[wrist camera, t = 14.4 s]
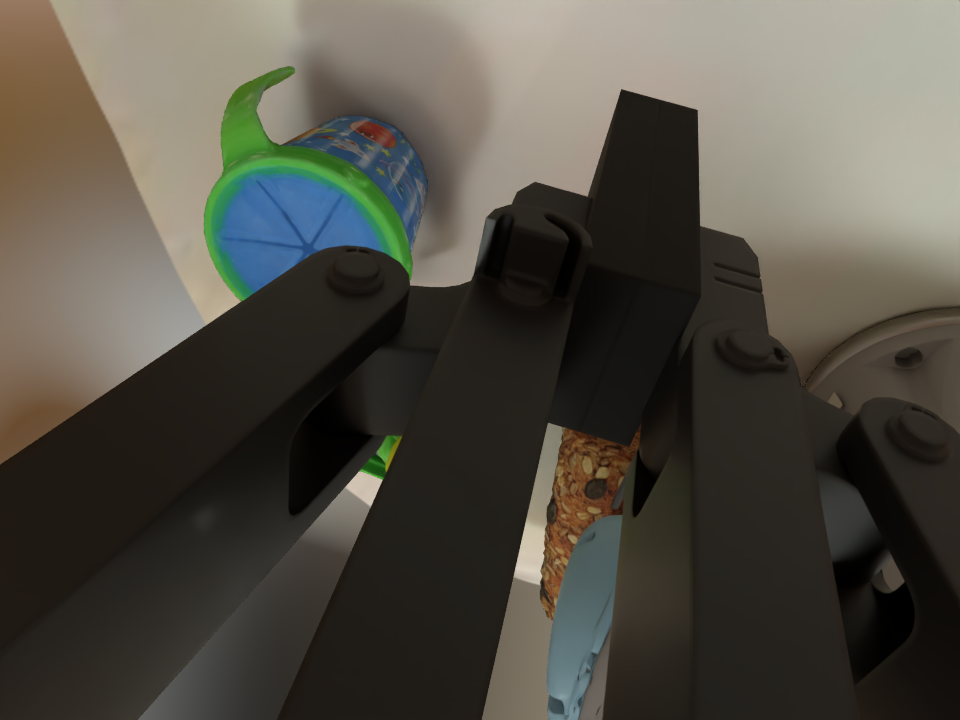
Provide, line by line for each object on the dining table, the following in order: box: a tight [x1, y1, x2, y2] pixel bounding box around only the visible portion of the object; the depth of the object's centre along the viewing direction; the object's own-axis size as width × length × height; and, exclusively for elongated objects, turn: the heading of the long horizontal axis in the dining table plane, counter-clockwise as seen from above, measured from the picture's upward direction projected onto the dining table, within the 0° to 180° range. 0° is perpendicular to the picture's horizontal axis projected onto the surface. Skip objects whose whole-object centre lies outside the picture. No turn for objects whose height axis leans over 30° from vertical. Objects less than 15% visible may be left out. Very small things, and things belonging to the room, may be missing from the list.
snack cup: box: [204, 66, 427, 301], centre depth 40 cm, size 16×10×10 cm
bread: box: [540, 424, 641, 620], centre depth 50 cm, size 19×11×10 cm, turn 179°
